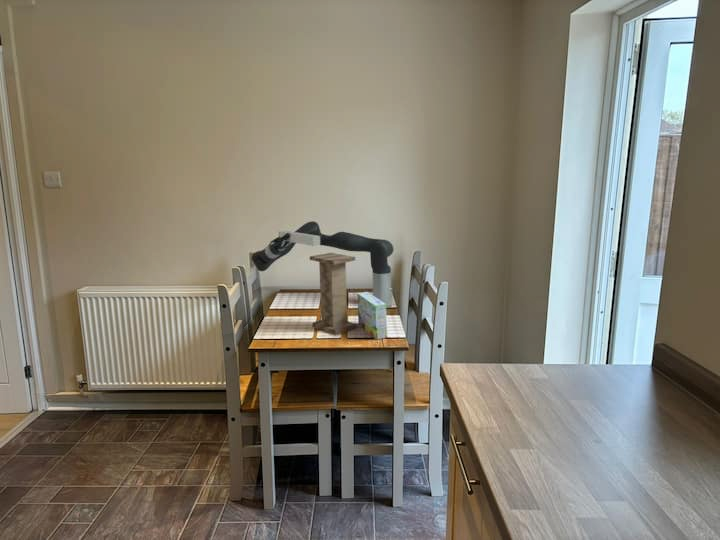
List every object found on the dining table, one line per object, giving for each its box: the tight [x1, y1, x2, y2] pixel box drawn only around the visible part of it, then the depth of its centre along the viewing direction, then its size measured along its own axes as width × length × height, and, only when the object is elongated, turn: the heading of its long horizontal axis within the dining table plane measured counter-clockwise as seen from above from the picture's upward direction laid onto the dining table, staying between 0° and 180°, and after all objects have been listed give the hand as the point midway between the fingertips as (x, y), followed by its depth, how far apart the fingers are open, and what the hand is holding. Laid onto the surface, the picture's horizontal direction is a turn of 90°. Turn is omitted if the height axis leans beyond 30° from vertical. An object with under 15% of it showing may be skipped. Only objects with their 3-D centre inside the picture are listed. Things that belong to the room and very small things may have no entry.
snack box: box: [356, 291, 388, 341], centre depth 206 cm, size 21×6×15 cm, turn 21°
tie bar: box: [278, 230, 321, 247], centre depth 222 cm, size 26×4×4 cm, turn 44°
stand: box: [309, 252, 358, 336], centre depth 210 cm, size 16×12×32 cm
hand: (292, 234), depth 225 cm, fingers closed on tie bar, 4 cm apart
